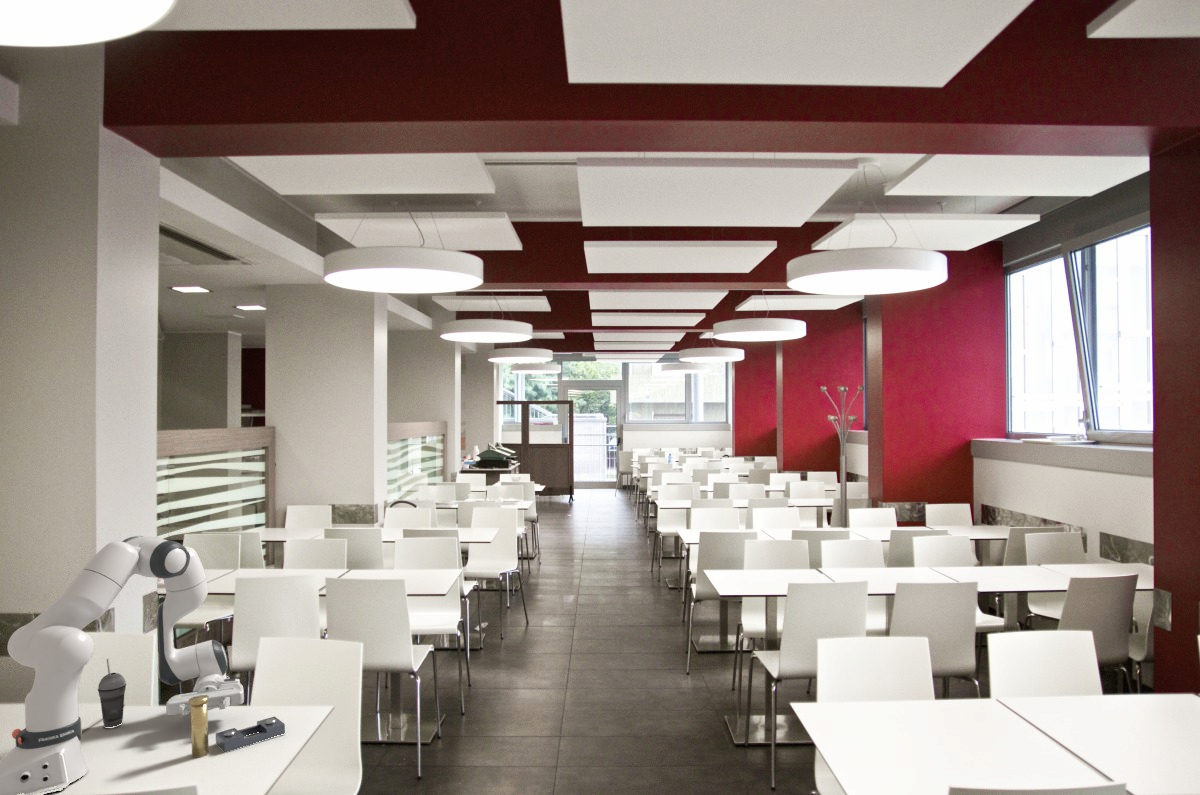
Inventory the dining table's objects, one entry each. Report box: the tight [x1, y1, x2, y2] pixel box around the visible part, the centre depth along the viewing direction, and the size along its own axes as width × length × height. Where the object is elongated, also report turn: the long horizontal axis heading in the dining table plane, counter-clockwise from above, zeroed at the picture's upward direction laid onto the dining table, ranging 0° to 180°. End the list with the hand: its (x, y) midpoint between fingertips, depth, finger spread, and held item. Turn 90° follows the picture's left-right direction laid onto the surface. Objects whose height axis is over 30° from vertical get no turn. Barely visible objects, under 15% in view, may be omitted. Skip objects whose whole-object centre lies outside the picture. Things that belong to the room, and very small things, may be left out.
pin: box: [189, 695, 210, 759], centre depth 208 cm, size 5×5×15 cm
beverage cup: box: [97, 658, 127, 727], centre depth 231 cm, size 7×7×20 cm
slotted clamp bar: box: [215, 716, 286, 753], centre depth 217 cm, size 16×8×4 cm, turn 132°
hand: (203, 709), depth 219 cm, fingers open, 8 cm apart
